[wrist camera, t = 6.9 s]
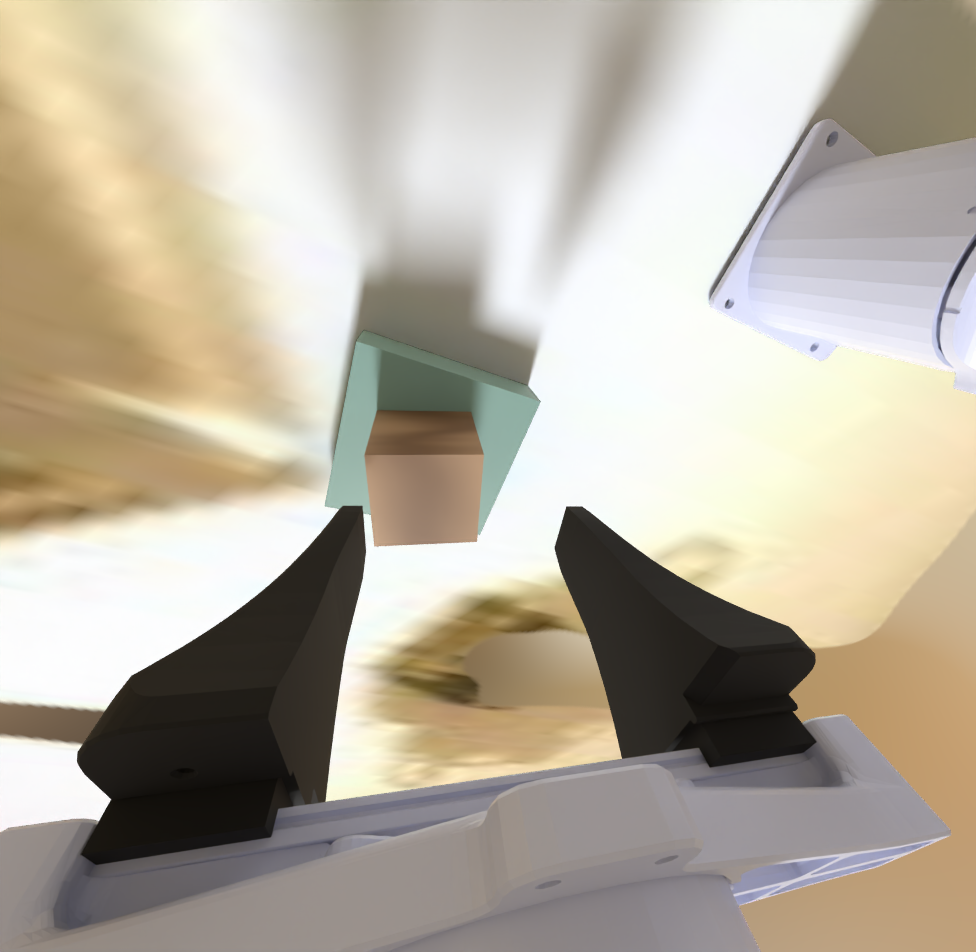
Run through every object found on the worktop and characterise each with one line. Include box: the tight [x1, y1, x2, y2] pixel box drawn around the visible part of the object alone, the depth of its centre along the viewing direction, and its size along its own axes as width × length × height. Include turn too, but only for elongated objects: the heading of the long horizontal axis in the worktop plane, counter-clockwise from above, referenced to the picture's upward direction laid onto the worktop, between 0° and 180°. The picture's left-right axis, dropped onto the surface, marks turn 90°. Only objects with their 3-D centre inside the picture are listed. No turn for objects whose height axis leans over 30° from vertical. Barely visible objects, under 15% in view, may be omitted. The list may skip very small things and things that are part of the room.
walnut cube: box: [364, 410, 484, 546], centre depth 17 cm, size 4×4×4 cm
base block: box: [325, 330, 541, 535], centre depth 20 cm, size 9×9×3 cm
